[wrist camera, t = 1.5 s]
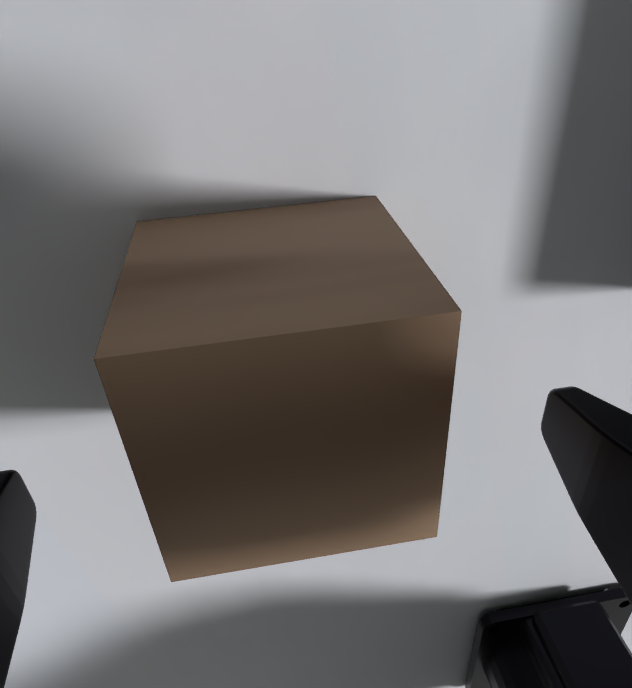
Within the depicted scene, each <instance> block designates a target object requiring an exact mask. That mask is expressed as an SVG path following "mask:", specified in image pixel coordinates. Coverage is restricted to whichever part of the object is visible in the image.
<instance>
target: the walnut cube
mask: <svg viewBox="0 0 632 688" xmlns="http://www.w3.org/2000/svg"><path fill="white" fill-rule="evenodd" d="M461 312H462V311H461V310H460V308H459V307H458V305H457V304H456V303H455V301H454V300H453V299H452V297H451V296H450V295H449V293H448V292H447V291H446V289H445V288H444V287H443V285H442V284H441V283H440V281H439V280H438V279H437V277H436V276H435V275H434V273H433V272H432V271H431V269H430V268H429V267H428V265H427V264H426V263H425V261H424V260H423V258H422V257H421V256H420V254H419V253H418V252H417V250H416V249H415V248H414V246H413V245H412V244H411V242H410V241H409V240H408V238H407V237H406V236H405V234H404V233H403V232H402V230H401V229H400V228H399V226H398V225H397V224H396V222H395V221H394V220H393V218H392V217H391V215H390V214H389V213H388V211H387V210H386V209H385V207H384V206H383V205H382V203H381V202H380V201H379V199H378V198H377V197H376V196H370V197H360V198H351V199H342V200H332V201H323V202H314V203H305V204H295V205H286V206H277V207H268V208H258V209H249V210H240V211H230V212H221V213H212V214H203V215H193V216H184V217H175V218H166V219H156V220H147V221H138V222H136V226H135V229H134V232H133V235H132V238H131V242H130V245H129V248H128V251H127V254H126V257H125V261H124V264H123V267H122V270H121V273H120V277H119V280H118V283H117V286H116V289H115V293H114V296H113V299H112V302H111V305H110V309H109V312H108V315H107V318H106V321H105V325H104V328H103V331H102V334H101V337H100V340H99V344H98V347H97V350H96V353H95V356H94V361H95V364H96V367H97V370H98V373H99V376H100V378H101V381H102V384H103V387H104V390H105V393H106V396H107V399H108V402H109V404H110V407H111V410H112V413H113V416H114V419H115V422H116V425H117V427H118V430H119V433H120V436H121V439H122V442H123V445H124V448H125V451H126V453H127V456H128V459H129V462H130V465H131V468H132V471H133V474H134V476H135V479H136V482H137V485H138V488H139V491H140V494H141V497H142V499H143V502H144V505H145V508H146V511H147V514H148V517H149V520H150V523H151V525H152V528H153V531H154V534H155V537H156V540H157V543H158V546H159V548H160V551H161V554H162V557H163V560H164V563H165V566H166V569H167V572H168V574H169V577H170V580H171V582H175V581H181V580H186V579H192V578H198V577H204V576H210V575H216V574H222V573H227V572H233V571H239V570H245V569H251V568H257V567H262V566H268V565H274V564H280V563H286V562H292V561H298V560H303V559H309V558H315V557H321V556H327V555H333V554H338V553H344V552H350V551H356V550H362V549H368V548H374V547H379V546H385V545H391V544H397V543H403V542H409V541H415V540H420V539H426V538H432V537H437V531H438V522H439V513H440V504H441V495H442V485H443V476H444V467H445V458H446V449H447V440H448V431H449V422H450V412H451V403H452V394H453V385H454V376H455V367H456V358H457V348H458V339H459V330H460V321H461Z"/></svg>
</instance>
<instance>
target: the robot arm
mask: <svg viewBox="0 0 632 688" xmlns="http://www.w3.org/2000/svg"><path fill="white" fill-rule="evenodd" d="M541 430H542V435H543V438H544V440H545V443H546V445H547V447H548V449H549V451H550V454H551V456H552V458H553V460H554V462H555V465H556V467H557V469H558V471H559V474H560V476H561V478H562V480H563V482H564V485H565V487H566V489H567V491H568V494H569V496H570V498H571V500H572V502H573V504H574V506H575V508H576V510H577V512H578V514H579V516H580V518H581V520H582V521H583V523H584V525H585V527H586V528H587V530H588V532H589V533H590V535H591V537H592V539H593V540H594V542H595V544H596V545H597V547H598V549H599V551H600V552H601V554H602V556H603V557H604V559H605V561H606V562H607V564H608V566H609V568H610V569H611V571H612V573H613V574H614V576H615V578H616V579H617V581H618V583H619V585H620V586H621V588H618V589H613V590H607V591H602V592H597V593H592V594H586V595H581V596H576V597H570V598H565V599H560V600H554V601H549V602H544V603H538V604H533V605H528V606H523V607H517V608H512V609H507V610H501V611H496V612H491V613H488V614H486V615H484V616H482V617H481V618H480V620H479V622H478V627H477V632H476V637H475V642H474V646H473V651H472V656H471V661H470V666H469V671H468V676H467V680H466V685H465V688H632V653H631V651H630V650H629V648H628V646H627V645H626V643H625V641H624V640H623V638H622V637H621V633H622V631H623V629H624V627H625V625H626V623H627V620H628V618H629V616H630V614H631V612H632V414H630V413H628V412H626V411H624V410H622V409H620V408H618V407H616V406H614V405H612V404H610V403H608V402H606V401H603V400H601V399H599V398H597V397H595V396H593V395H591V394H589V393H587V392H585V391H583V390H581V389H579V388H577V387H564V388H557V389H553V390H551V391H550V393H549V394H548V397H547V401H546V406H545V410H544V414H543V418H542V423H541ZM35 523H36V506H35V503H34V501H33V499H32V497H31V495H30V493H29V491H28V489H27V487H26V485H25V483H24V481H23V479H22V478H21V476H20V474H19V473H18V472H17V471H15V470H6V471H0V688H4V685H5V681H6V677H7V674H8V670H9V666H10V662H11V658H12V654H13V650H14V646H15V642H16V638H17V634H18V630H19V626H20V622H21V617H22V613H23V609H24V603H25V597H26V590H27V583H28V575H29V568H30V560H31V553H32V545H33V538H34V531H35Z"/></svg>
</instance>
